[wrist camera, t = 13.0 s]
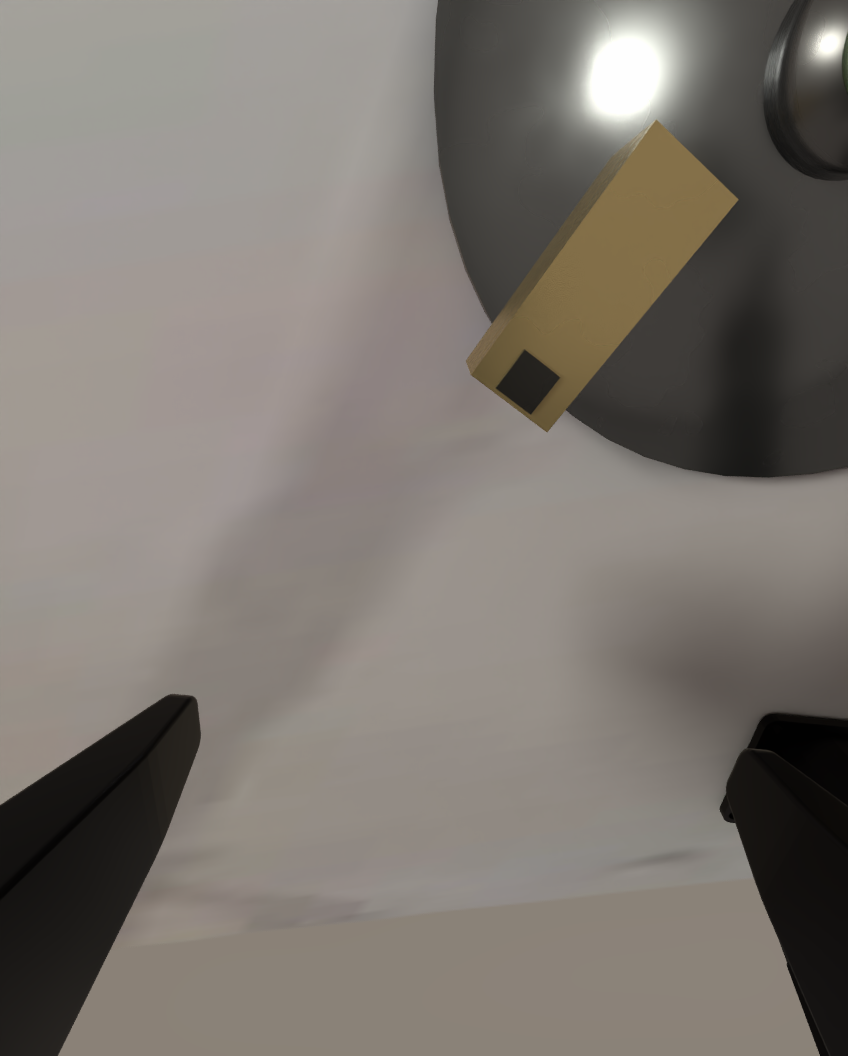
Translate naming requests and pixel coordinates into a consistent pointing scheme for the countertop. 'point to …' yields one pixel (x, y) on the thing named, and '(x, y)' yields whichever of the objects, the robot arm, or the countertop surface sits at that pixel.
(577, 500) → the countertop surface
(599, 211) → the knob
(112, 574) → the countertop surface
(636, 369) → the levelling plate
